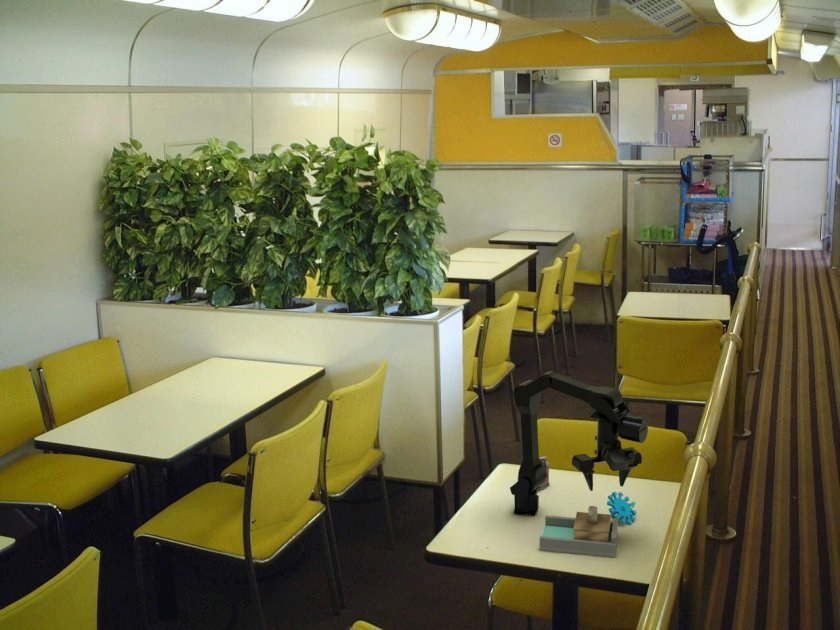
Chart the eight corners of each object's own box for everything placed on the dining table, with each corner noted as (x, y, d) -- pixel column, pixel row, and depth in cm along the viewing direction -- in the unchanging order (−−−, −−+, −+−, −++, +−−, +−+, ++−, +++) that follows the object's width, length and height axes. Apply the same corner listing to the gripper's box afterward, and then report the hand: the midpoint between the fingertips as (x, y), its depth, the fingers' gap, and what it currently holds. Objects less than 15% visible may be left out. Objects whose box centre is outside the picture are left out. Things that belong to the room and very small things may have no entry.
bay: (539, 549, 247) (539, 532, 246) (545, 526, 260) (545, 510, 259) (615, 557, 242) (615, 539, 241) (617, 533, 255) (618, 516, 254)
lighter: (543, 482, 290) (543, 452, 287) (551, 485, 287) (552, 455, 285) (527, 490, 284) (527, 460, 282) (535, 493, 282) (536, 463, 279)
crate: (573, 545, 246) (573, 514, 244) (576, 528, 256) (577, 498, 254) (608, 548, 244) (609, 517, 242) (610, 531, 253) (611, 501, 251)
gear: (620, 525, 256) (604, 493, 261) (607, 534, 260) (591, 502, 264) (646, 519, 263) (629, 487, 267) (632, 527, 267) (617, 496, 271)
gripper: (589, 449, 238) (588, 505, 242) (653, 441, 243) (651, 495, 247) (571, 435, 249) (570, 488, 253) (633, 427, 254) (631, 479, 257)
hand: (606, 488), depth 252 cm, fingers open, 9 cm apart
